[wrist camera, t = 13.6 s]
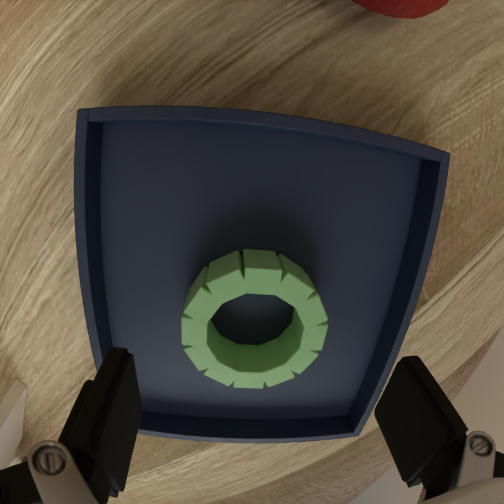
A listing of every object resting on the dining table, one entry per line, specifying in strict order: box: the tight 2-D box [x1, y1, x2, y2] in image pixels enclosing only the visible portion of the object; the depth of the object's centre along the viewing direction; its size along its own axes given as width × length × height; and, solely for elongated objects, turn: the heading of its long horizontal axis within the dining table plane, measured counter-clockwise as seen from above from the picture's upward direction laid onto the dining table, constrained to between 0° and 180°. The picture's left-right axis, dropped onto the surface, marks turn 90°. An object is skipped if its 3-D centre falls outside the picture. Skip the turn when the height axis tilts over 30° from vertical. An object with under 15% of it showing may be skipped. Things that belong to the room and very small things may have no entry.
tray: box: [74, 105, 450, 443], centre depth 15 cm, size 17×19×2 cm
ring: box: [181, 249, 328, 388], centre depth 15 cm, size 7×7×2 cm
